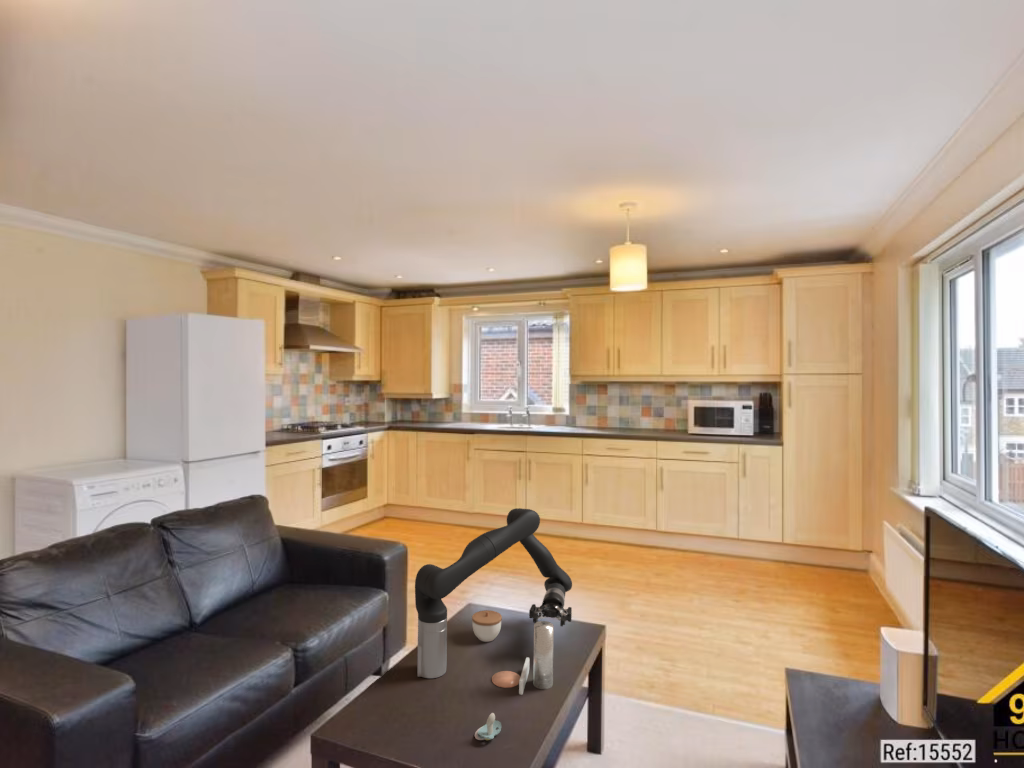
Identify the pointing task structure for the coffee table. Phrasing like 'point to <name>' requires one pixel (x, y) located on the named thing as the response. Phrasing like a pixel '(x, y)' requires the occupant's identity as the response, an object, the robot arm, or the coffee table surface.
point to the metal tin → (543, 655)
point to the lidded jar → (486, 625)
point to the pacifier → (488, 729)
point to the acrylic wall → (524, 676)
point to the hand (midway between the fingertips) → (548, 622)
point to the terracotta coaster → (506, 679)
